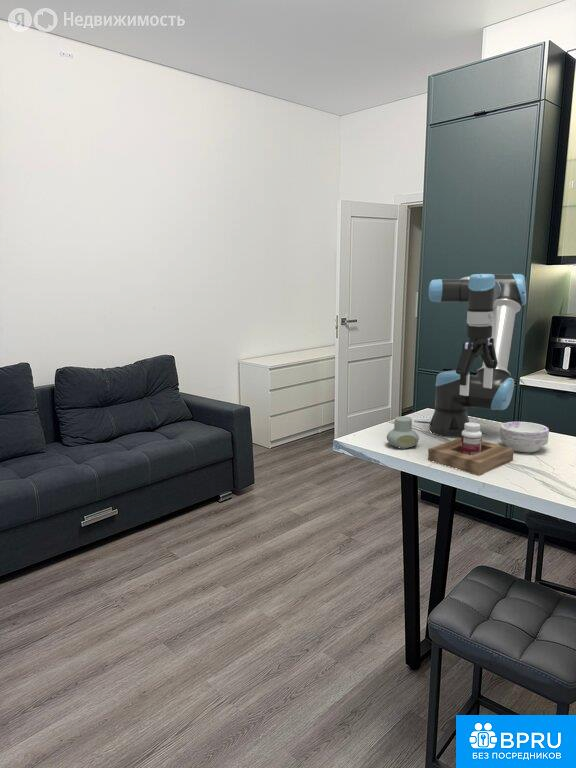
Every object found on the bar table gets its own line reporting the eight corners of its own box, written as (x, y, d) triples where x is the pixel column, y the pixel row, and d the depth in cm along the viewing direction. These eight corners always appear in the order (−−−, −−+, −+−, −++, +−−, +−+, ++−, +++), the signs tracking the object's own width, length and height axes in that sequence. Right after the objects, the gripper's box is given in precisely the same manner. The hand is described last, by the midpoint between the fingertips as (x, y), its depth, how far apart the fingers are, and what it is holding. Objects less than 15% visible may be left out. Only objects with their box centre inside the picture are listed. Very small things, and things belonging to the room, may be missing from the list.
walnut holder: (428, 460, 176) (428, 448, 175) (463, 447, 188) (463, 436, 188) (478, 475, 162) (479, 462, 161) (513, 460, 175) (513, 448, 174)
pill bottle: (465, 453, 179) (467, 420, 177) (483, 457, 175) (486, 423, 173) (456, 457, 175) (458, 424, 173) (475, 462, 171) (477, 428, 169)
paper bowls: (509, 439, 197) (510, 418, 196) (553, 448, 187) (555, 425, 185) (491, 449, 186) (492, 426, 185) (537, 459, 176) (539, 435, 175)
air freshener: (390, 450, 186) (391, 422, 184) (383, 443, 194) (384, 415, 192) (421, 449, 187) (422, 420, 185) (413, 441, 195) (414, 414, 193)
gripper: (467, 329, 159) (464, 400, 164) (511, 321, 175) (507, 386, 179) (445, 327, 165) (443, 396, 169) (489, 320, 180) (486, 383, 185)
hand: (476, 391), depth 174 cm, fingers open, 13 cm apart
